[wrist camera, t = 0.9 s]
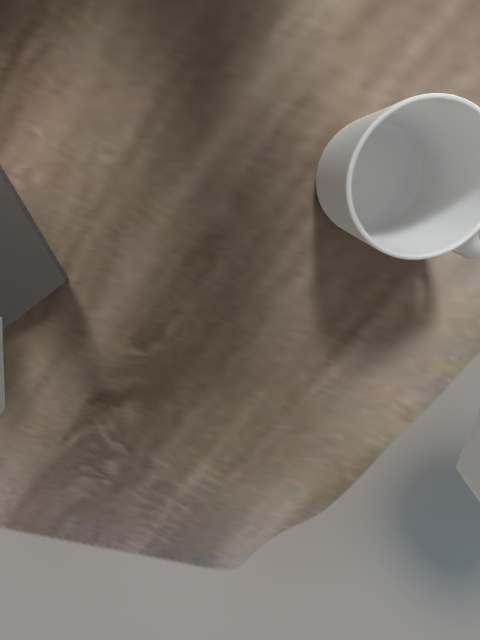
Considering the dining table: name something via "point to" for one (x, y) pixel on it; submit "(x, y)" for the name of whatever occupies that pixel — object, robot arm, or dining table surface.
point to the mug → (407, 178)
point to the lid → (21, 262)
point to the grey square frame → (32, 223)
